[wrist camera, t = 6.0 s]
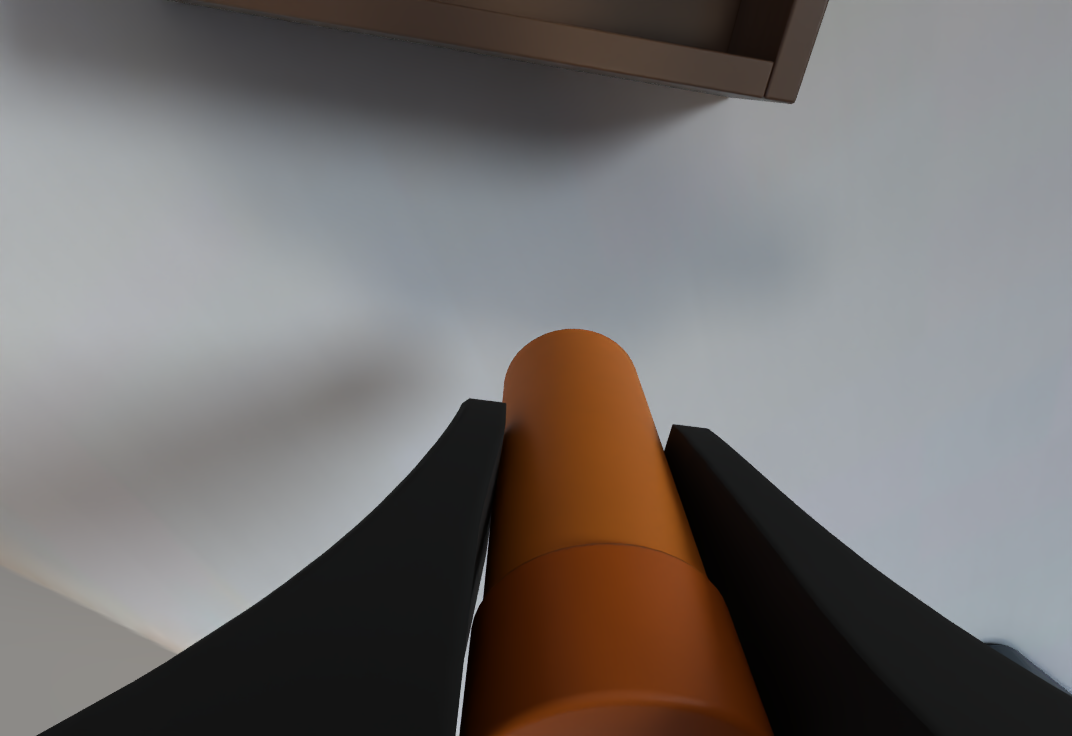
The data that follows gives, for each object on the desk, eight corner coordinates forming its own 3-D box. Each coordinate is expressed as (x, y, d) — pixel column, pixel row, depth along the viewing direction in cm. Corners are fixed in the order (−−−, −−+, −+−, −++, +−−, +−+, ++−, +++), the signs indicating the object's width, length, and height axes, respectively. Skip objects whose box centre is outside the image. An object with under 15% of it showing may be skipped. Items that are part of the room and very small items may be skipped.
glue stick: (491, 437, 12) (441, 865, 6) (508, 312, 11) (469, 683, 4) (624, 454, 12) (727, 885, 6) (658, 333, 11) (843, 717, 4)
